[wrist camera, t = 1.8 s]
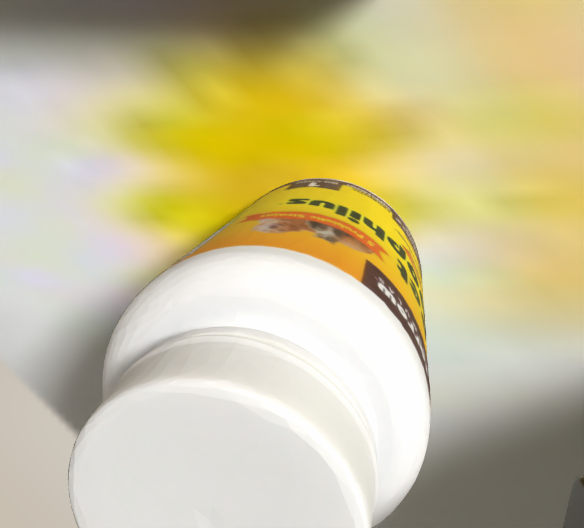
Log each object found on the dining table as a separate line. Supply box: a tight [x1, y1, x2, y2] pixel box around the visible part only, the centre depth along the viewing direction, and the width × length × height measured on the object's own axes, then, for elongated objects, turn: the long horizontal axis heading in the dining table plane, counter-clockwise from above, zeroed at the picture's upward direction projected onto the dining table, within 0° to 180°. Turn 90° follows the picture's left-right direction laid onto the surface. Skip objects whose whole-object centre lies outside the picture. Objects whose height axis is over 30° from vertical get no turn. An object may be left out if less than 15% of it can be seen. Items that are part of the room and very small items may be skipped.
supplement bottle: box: [68, 178, 430, 528], centre depth 12 cm, size 6×6×10 cm
